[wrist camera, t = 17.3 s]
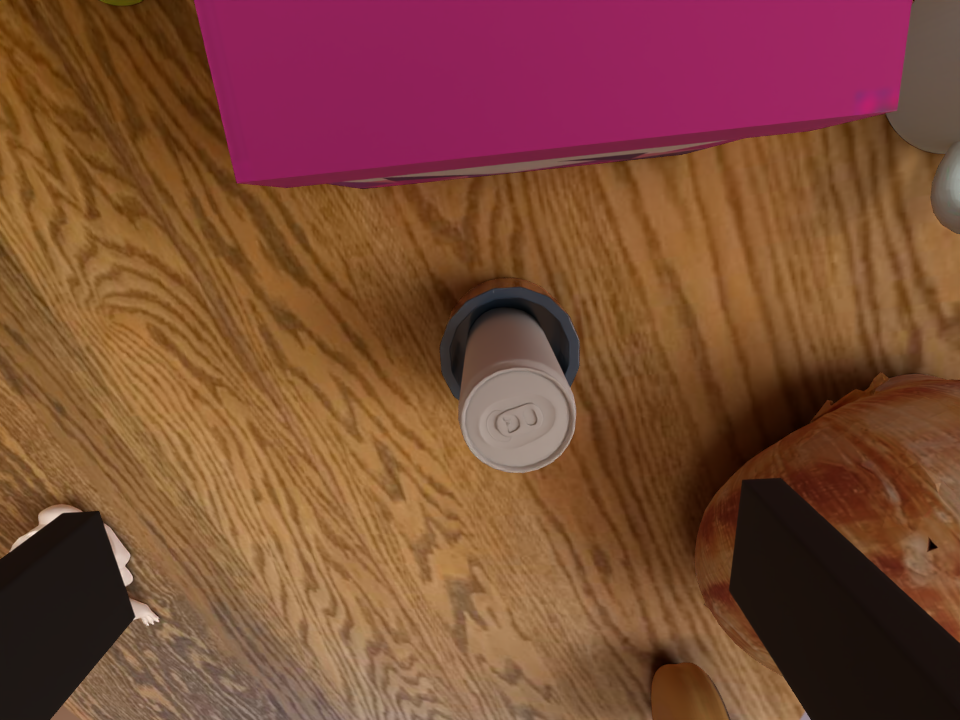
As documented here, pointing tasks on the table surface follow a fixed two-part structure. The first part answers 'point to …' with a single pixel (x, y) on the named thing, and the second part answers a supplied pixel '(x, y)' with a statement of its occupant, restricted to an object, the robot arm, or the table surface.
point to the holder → (510, 296)
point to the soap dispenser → (121, 2)
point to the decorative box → (532, 81)
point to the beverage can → (514, 394)
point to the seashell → (861, 495)
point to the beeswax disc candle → (685, 694)
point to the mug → (934, 98)
